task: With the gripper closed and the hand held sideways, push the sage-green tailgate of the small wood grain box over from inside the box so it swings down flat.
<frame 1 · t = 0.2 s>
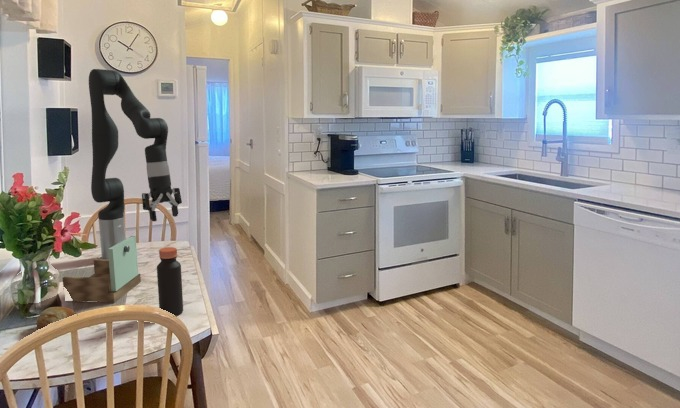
hand: (164, 218, 171), 22 cm above the table, tool pointing down, fingers open, 8 cm apart
bottle: (171, 313, 142), on the table
tailgate: (125, 262, 156), point 10 cm above the table, hinge at 0.0°
bread roll: (57, 328, 132), on the table
architectural model: (126, 272, 180), on the table
wood grain box: (105, 291, 158), on the table
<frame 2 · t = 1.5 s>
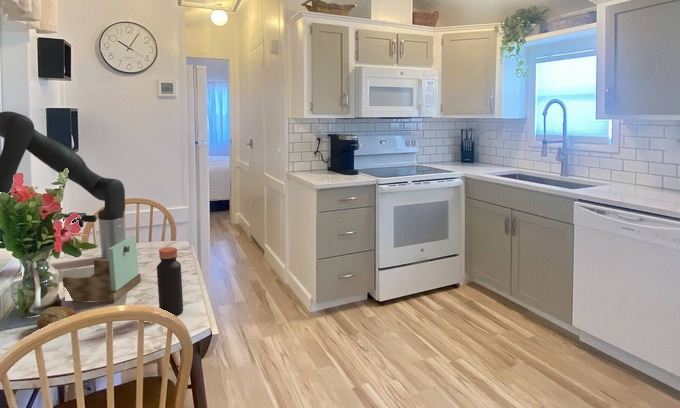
hand: (89, 221, 154), 24 cm above the table, tool horizontal, fingers open, 7 cm apart
nothing on the table moved.
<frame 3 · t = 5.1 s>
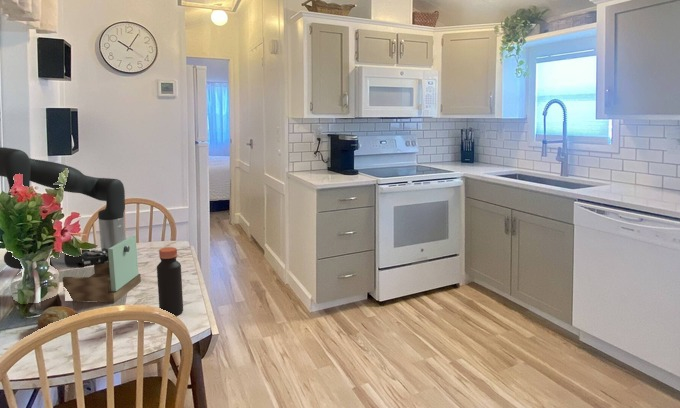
hand: (121, 257, 156), 12 cm above the table, tool horizontal, fingers closed
tailgate: (125, 262, 156), point 10 cm above the table, hinge at 0.0°, touching gripper
everything else where it was.
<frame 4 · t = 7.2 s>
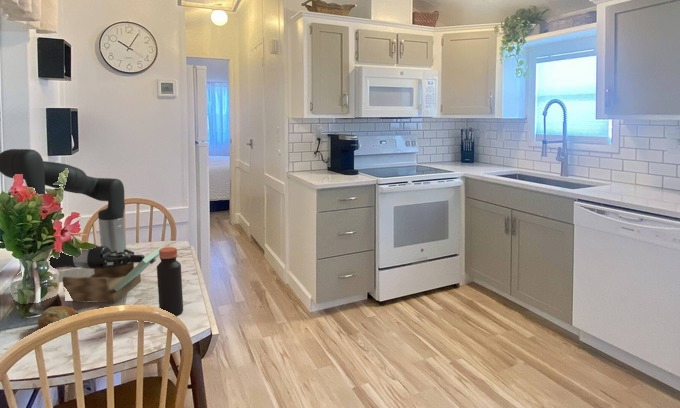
hand: (143, 258, 156), 12 cm above the table, tool horizontal, fingers closed
tailgate: (141, 268, 157), point 8 cm above the table, hinge at 46.0°, touching gripper
everything else where it was.
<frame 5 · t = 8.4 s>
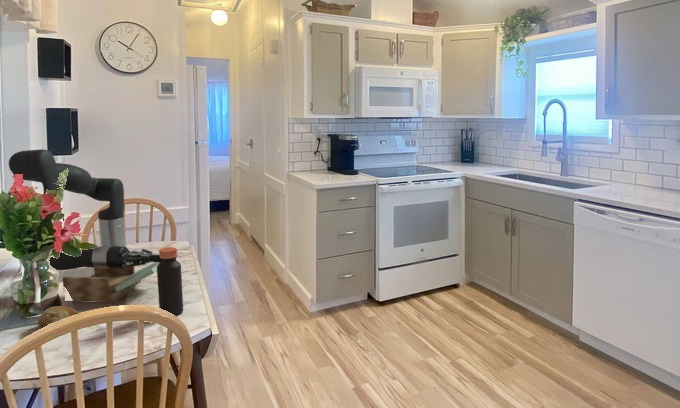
hand: (162, 258, 156), 12 cm above the table, tool horizontal, fingers closed
tailgate: (145, 273, 157), point 7 cm above the table, hinge at 62.3°, touching gripper
everything else where it was.
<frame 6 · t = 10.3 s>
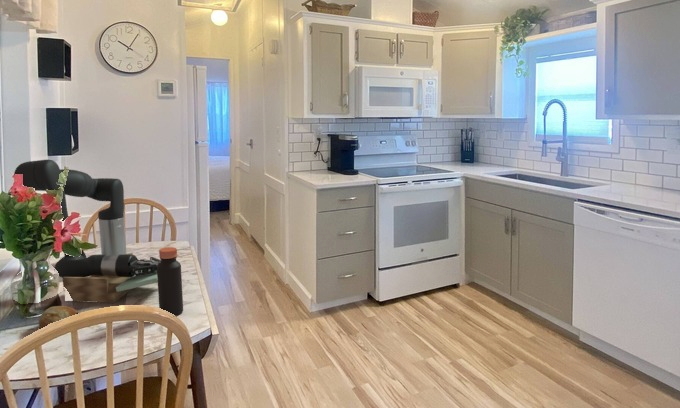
hand: (170, 266, 156), 9 cm above the table, tool horizontal, fingers closed
tailgate: (148, 277, 157), point 5 cm above the table, hinge at 75.1°
everything else where it was.
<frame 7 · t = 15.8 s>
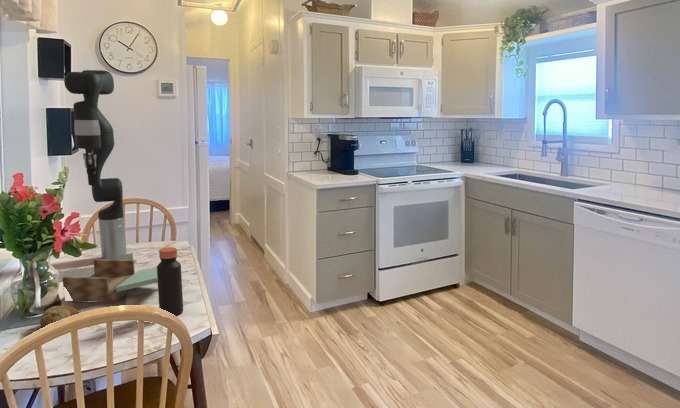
hand: (92, 184, 160), 35 cm above the table, tool pointing down, fingers closed
nothing on the table moved.
at the end: tailgate at +75° (first picture: +0°); bread roll moved 1.0 cm from its start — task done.
